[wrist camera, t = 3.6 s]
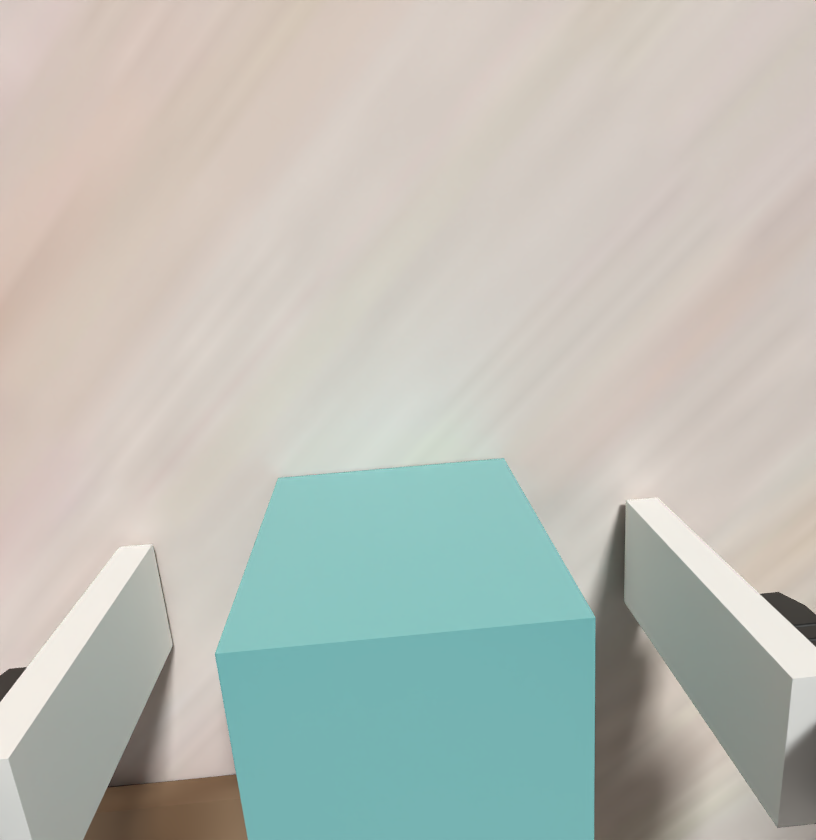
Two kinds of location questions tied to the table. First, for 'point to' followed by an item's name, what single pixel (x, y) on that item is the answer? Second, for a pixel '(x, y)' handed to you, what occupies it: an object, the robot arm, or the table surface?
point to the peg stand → (171, 811)
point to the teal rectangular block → (410, 663)
